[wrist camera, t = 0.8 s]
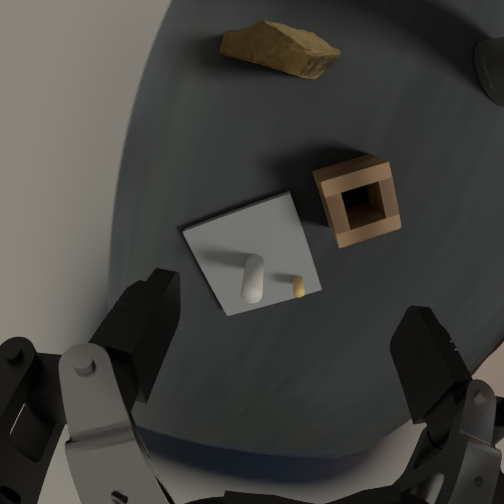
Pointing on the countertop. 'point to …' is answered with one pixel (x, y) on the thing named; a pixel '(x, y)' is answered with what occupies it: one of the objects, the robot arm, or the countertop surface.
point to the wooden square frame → (362, 216)
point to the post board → (254, 238)
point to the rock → (280, 48)
